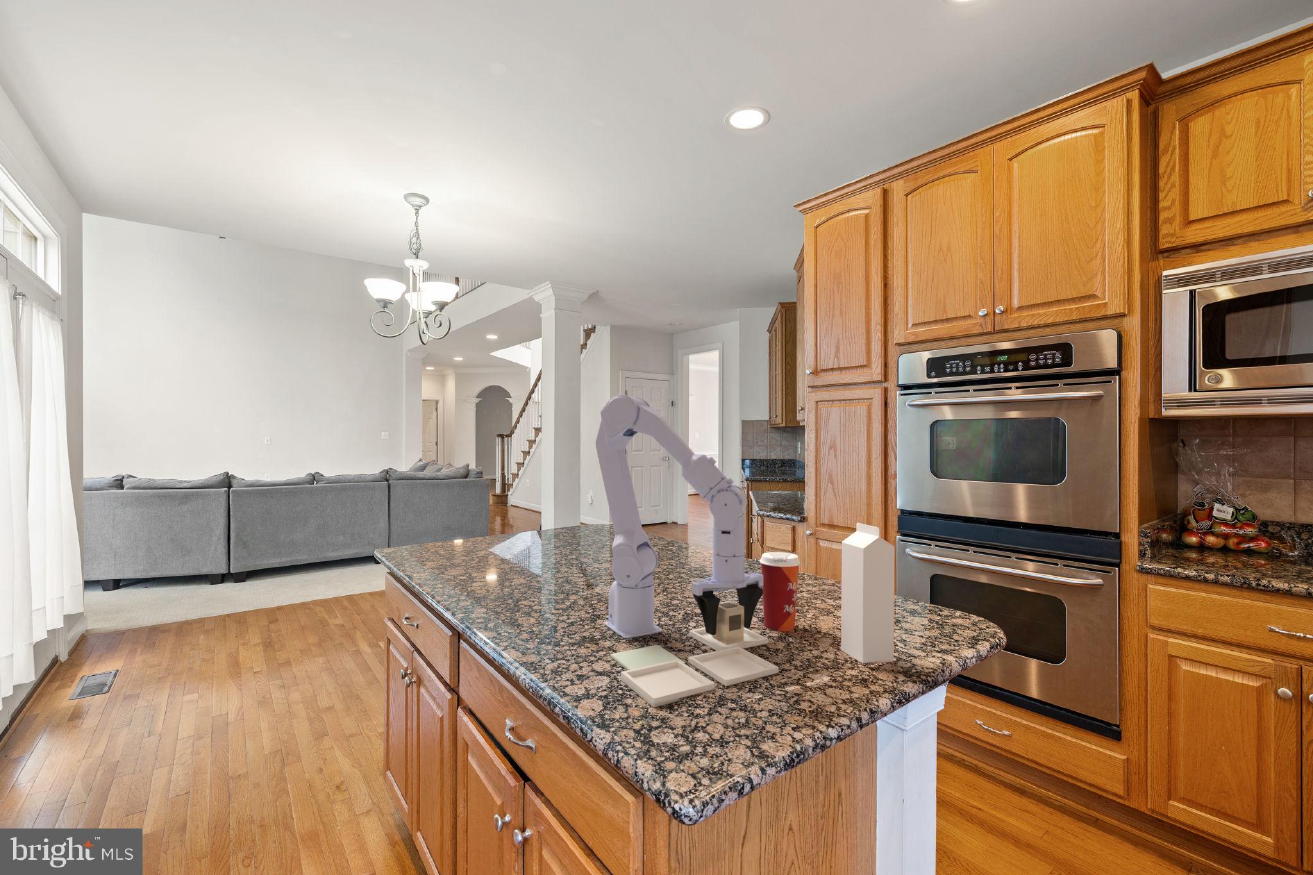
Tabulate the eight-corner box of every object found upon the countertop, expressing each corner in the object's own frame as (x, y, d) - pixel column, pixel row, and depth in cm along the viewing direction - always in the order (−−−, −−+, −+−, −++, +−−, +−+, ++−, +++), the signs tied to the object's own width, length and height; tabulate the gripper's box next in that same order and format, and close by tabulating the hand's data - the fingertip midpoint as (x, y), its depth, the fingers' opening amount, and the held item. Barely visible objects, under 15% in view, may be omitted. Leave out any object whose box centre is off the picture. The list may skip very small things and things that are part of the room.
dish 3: (688, 664, 91) (688, 657, 91) (738, 653, 96) (738, 646, 96) (725, 688, 82) (725, 680, 82) (778, 674, 87) (778, 667, 87)
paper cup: (801, 636, 104) (801, 560, 104) (758, 633, 106) (759, 558, 106) (799, 623, 112) (799, 552, 112) (759, 620, 114) (760, 550, 114)
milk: (862, 666, 91) (863, 528, 91) (840, 652, 97) (840, 523, 97) (894, 661, 93) (895, 526, 93) (870, 648, 99) (871, 521, 99)
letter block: (712, 637, 102) (712, 603, 102) (730, 633, 104) (730, 600, 104) (725, 644, 99) (726, 609, 99) (744, 640, 101) (744, 606, 101)
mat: (610, 656, 94) (610, 654, 94) (657, 647, 98) (657, 644, 98) (635, 676, 86) (635, 673, 86) (685, 665, 91) (685, 662, 91)
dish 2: (689, 637, 103) (689, 630, 103) (733, 628, 108) (733, 622, 108) (721, 655, 95) (721, 648, 95) (768, 645, 100) (768, 638, 100)
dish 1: (620, 679, 85) (620, 671, 85) (677, 666, 90) (677, 659, 90) (653, 707, 76) (653, 698, 76) (714, 691, 81) (714, 683, 81)
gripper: (708, 562, 95) (707, 643, 95) (774, 554, 102) (774, 629, 102) (685, 554, 101) (684, 631, 101) (749, 547, 108) (749, 619, 108)
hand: (728, 629), depth 102 cm, fingers open, 7 cm apart
